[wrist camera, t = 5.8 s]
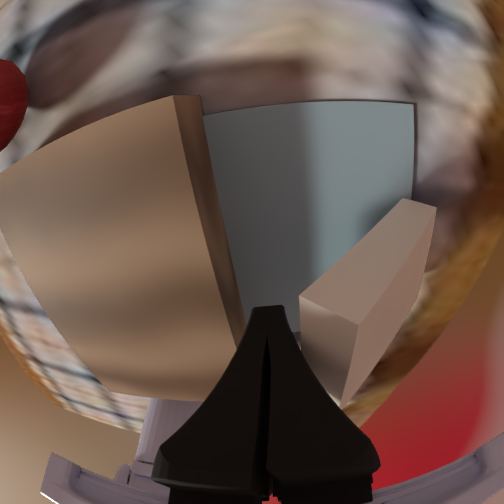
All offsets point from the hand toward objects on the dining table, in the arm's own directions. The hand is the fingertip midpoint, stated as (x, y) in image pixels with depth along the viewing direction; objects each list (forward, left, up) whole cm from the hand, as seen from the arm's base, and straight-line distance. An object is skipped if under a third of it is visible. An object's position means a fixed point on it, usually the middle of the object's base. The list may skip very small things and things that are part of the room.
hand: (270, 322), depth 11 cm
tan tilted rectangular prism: (0, -4, -1) cm, 4 cm away
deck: (0, +8, -5) cm, 9 cm away
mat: (+1, -3, -5) cm, 6 cm away
